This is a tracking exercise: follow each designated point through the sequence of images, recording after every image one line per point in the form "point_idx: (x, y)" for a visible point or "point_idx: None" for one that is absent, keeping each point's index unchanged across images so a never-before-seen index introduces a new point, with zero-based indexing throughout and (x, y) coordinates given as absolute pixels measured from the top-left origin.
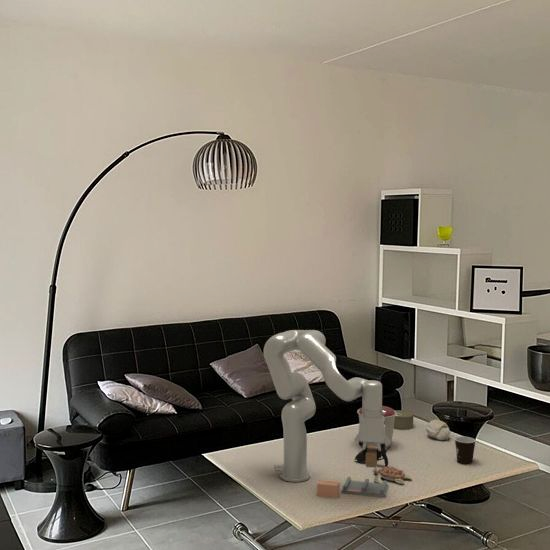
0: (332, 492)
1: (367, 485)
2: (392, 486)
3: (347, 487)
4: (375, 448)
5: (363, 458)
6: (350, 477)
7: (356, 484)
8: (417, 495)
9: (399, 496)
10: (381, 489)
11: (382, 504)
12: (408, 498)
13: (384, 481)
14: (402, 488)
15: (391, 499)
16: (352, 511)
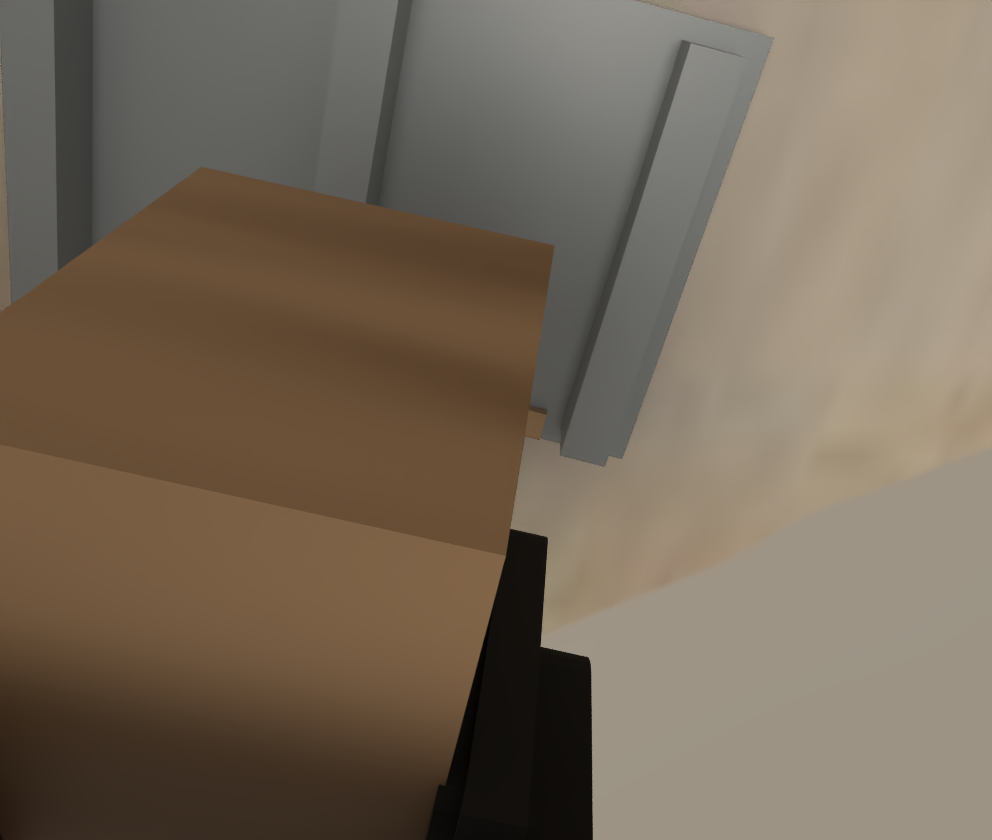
0: None
1: (389, 126)
2: (837, 10)
3: (86, 229)
4: (344, 727)
5: None
6: None
7: (209, 65)
8: None
9: (826, 408)
10: (577, 440)
11: (554, 611)
12: (929, 469)
13: (691, 103)
14: (986, 102)
15: (690, 493)
16: None
